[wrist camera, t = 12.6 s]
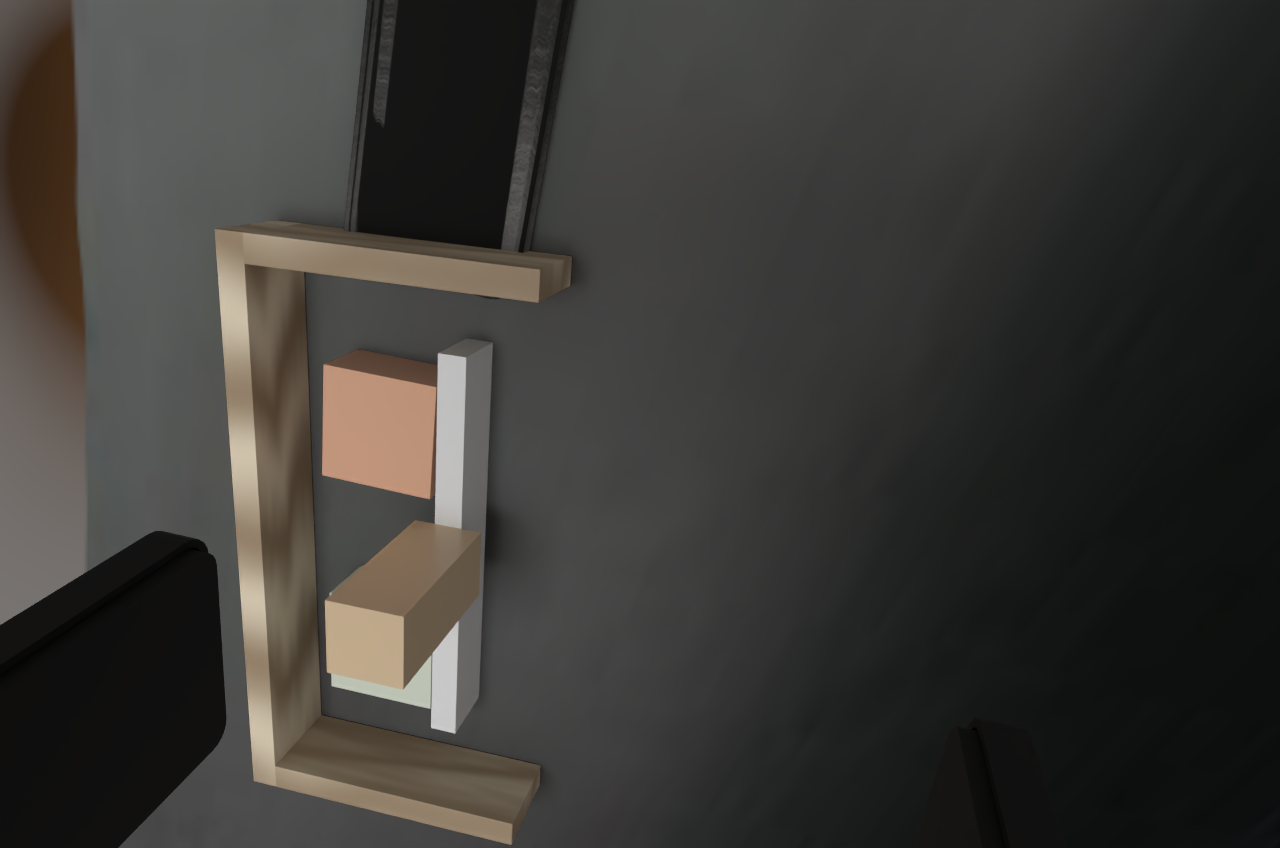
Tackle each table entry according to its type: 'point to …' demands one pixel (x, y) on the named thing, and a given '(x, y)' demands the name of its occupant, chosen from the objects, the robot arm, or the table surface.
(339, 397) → the terracotta tile
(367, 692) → the pale green square block
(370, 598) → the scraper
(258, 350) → the box
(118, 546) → the table surface
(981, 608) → the table surface
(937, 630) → the table surface
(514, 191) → the phone
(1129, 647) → the table surface
